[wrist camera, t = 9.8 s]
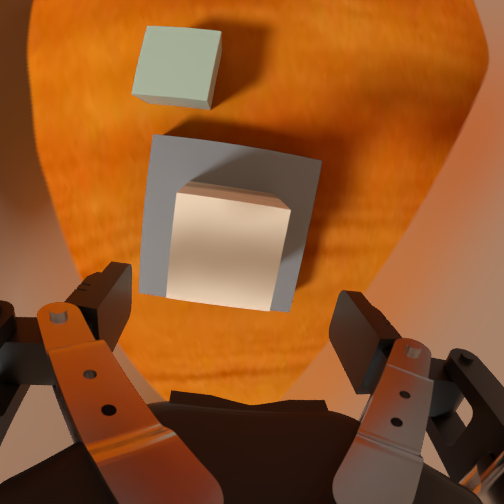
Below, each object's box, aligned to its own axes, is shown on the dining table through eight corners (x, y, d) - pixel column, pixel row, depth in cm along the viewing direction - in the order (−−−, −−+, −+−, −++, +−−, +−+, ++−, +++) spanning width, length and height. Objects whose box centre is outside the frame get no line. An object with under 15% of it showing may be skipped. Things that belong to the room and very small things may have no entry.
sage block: (160, 46, 21) (147, 25, 16) (222, 52, 22) (221, 31, 17) (148, 103, 23) (131, 94, 18) (210, 110, 23) (207, 100, 19)
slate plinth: (161, 135, 24) (153, 134, 21) (311, 159, 25) (322, 160, 22) (146, 278, 27) (138, 292, 24) (283, 296, 29) (289, 312, 26)
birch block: (189, 180, 22) (176, 192, 16) (274, 193, 23) (290, 210, 17) (179, 262, 24) (166, 297, 18) (259, 273, 24) (269, 311, 19)
